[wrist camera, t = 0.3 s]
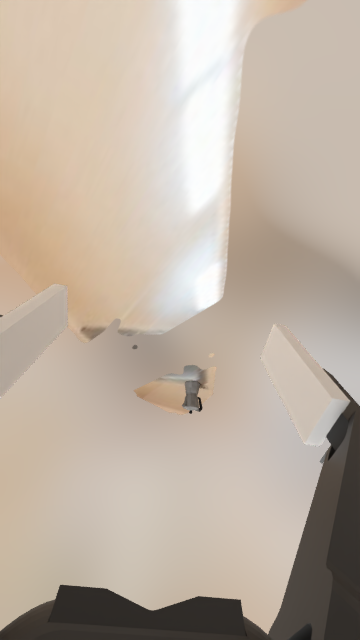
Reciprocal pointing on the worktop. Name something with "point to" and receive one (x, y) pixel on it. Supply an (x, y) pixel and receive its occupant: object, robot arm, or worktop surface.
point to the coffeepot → (192, 396)
